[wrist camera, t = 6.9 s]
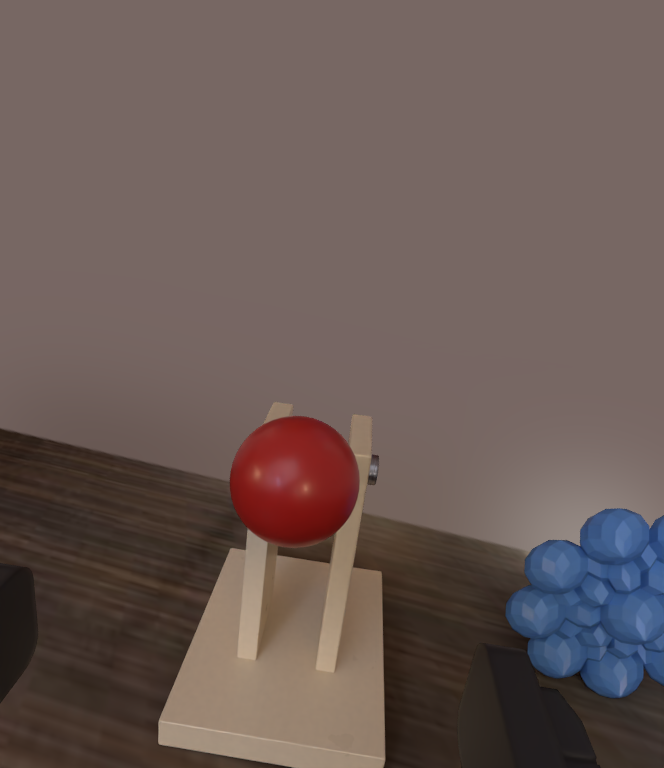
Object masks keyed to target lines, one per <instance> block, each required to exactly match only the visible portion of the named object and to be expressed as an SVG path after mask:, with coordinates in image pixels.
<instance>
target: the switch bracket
mask: <svg viewBox="0 0 664 768" xmlns="http://www.w3.org/2000/svg"><path fill="white" fill-rule="evenodd" d="M292 414H293V405H291V404H284V403H278V402H274V404H273V406H272V407H271V410H270V412H269V413H268V416H267V417H266V419H265V421H264V424H265V423H267V422H270V421H272V420H275V419H278V418H282V417H287V416H292ZM264 424H263V425H264ZM348 444H349V446H350V447H351V449H352V451H353V453H354V455H355V458H356V461H357V464H358V469H359V476H360V485H359V493H358V498H357V501H356V504H355V507H354V509H353V511H352V513H351V515H350V517H349V518H348V520H347V521H346V523H345V524H344V525H343V526H342V527H341V528H340V529H339V530H338V531H337V532H336V533H335V534H334V539H333V546H332V552H331V559H330V564H329V563H323V562H317V561H310V560H304V559H297V558H291V557H285V556H278V555H277V552H278V546H276V545H273V544H271V543H268V542H266V541H264V540H262V539H261V538H259V537H257V536H256V535H255V534H254V533H252V532H251V531H250V530H249V529H248V530H247V542H246V550H240V549H234V548H231V549H230V552H229V554H228V556H227V559H226V561H225V564H224V566H223V568H222V571H221V573H220V576H219V578H218V580H217V583H216V585H215V587H214V590H213V592H212V595H211V597H210V599H209V602H208V604H207V607H206V609H205V611H204V614H203V616H202V619H201V621H200V623H199V626H198V628H197V631H196V633H195V635H194V638H193V640H192V642H191V645H190V647H189V650H188V652H187V654H186V657H185V659H184V662H183V664H182V666H181V669H180V671H179V674H178V676H177V678H176V681H175V683H174V685H173V688H172V690H171V693H170V695H169V697H168V700H167V702H166V705H165V707H164V709H163V712H162V714H161V717H160V719H159V737H158V744H160V745H165V746H171V747H177V748H183V749H189V750H195V751H201V752H206V753H212V754H218V755H224V756H230V757H236V758H242V759H247V760H253V761H259V762H265V763H271V764H277V765H283V766H288V767H294V768H383V767H384V763H385V711H384V660H383V609H382V572H380V571H374V570H367V569H361V568H355V567H353V564H354V558H355V552H356V546H357V540H358V534H359V529H360V523H361V517H362V511H363V505H364V499H365V493H366V487H367V484H369V485H375V484H376V480H377V474H378V466H379V456H378V455H372V417H370V416H364V415H357V414H353V415H352V421H351V428H350V434H349V441H348Z"/></svg>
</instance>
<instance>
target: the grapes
mask: <svg viewBox="0 0 664 768" xmlns="http://www.w3.org/2000/svg"><path fill="white" fill-rule="evenodd" d="M580 545H581V547H580V546H578V545H576V544H574V543H572V542H570V541H567V540H548V541H546V542H544V543H543V544H541V545H539V546H537V547H535V548H533V549H532V550H531V552H530V553H529V555H528V556H527V557H526V559H525V570H524V572H525V575H526V577H527V578H528V580H529V582H530V583H531V585H528V586H526V587H524V588H522V589H520V590H518V591H516V592H515V593H513V594H512V596H511V597H510V599H509V600H508V602H507V603H506V614H505V616H506V618H507V620H508V622H509V623H510V625H511V627H512V629H513V630H515V631H516V632H518V633H519V634H521V635H522V636H524V637H528V638H531V639H530V640H529V642H528V652H527V653H528V655H529V657H530V660H531V662H532V664H533V666H534V668H536V669H537V670H538V671H540V672H541V673H543V674H544V675H546V676H549V677H553V678H565V677H571V676H572V675H574V674H576V673H577V672H579V671H580V675H581V677H582V679H583V680H584V682H585V684H586V685H587V687H588V688H590V689H591V690H593V691H594V692H596V693H597V694H599V695H601V696H605V697H609V698H622V697H626V696H628V695H629V694H631V693H632V692H634V691H635V690H636V689H637V688H638V686H639V684H640V683H641V681H642V680H643V667H644V669H645V670H646V672H647V673H648V675H649V676H650V678H651V679H653V680H655V681H656V682H658V683H660V684H661V685H663V686H664V516H662V517H660V518H658V519H656V520H655V522H654V523H653V525H652V526H651V528H650V529H649V525H648V524H647V523H646V522H645V520H644V519H643V518H642V516H641V515H639V514H637V513H635V512H632V511H630V510H627V509H605V510H603V511H601V512H599V513H597V514H596V515H594V516H592V517H590V518H588V519H587V521H586V522H585V524H584V525H583V527H582V528H581V531H580Z"/></svg>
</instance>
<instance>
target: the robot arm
mask: <svg viewBox="0 0 664 768" xmlns="http://www.w3.org/2000/svg"><path fill="white" fill-rule="evenodd" d="M37 639H38V623H37V612H36V601H35V590H34V579H33V574H32V571H31V570H30V569H29V568H27V567H21V566H15V565H9V564H2V563H0V703H1V702H2V700H3V699H4V698H5V696H6V695H7V694H8V692H9V691H10V690H11V688H12V687H13V686H14V684H15V683H16V682H17V680H18V679H19V678H20V676H21V675H22V674H23V672H24V671H25V669H26V668H27V666H28V664H29V662H30V660H31V658H32V656H33V654H34V651H35V648H36V644H37ZM458 745H459V752H460V759H461V765H462V768H600V765H597V763H596V755H595V753H594V750H593V748H592V745H591V743H590V740H589V738H588V735H587V733H586V730H585V728H584V725H583V723H582V721H581V720H580V718H579V717H578V716H577V714H576V713H575V712H574V711H573V709H572V708H571V707H570V705H569V704H568V703H567V701H566V700H565V699H564V698H563V696H562V695H561V694H560V692H559V691H558V690H556V689H550V688H544V687H540V686H539V683H538V680H537V677H536V674H535V671H534V669H533V666H532V663H531V660H530V657H529V655H528V653H527V652H526V651H525V650H523V649H517V648H511V647H505V646H499V645H492V644H486V643H479V645H478V646H477V648H476V651H475V654H474V658H473V661H472V664H471V668H470V671H469V675H468V678H467V681H466V685H465V688H464V692H463V695H462V698H461V702H460V706H459V712H458Z"/></svg>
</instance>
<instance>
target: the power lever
mask: <svg viewBox="0 0 664 768" xmlns="http://www.w3.org/2000/svg"><path fill="white" fill-rule="evenodd" d="M359 485H360V476H359V469H358V464H357V461H356V458H355V455H354V453H353V451H352V449H351V447H350V446H349V444H348V443H347V441H346V440H345V439H344V438H343V437H342V435H341V434H339V433H338V432H337V431H336V430H335V429H333V428H332V427H331V426H329V425H327V424H326V423H324V422H322V421H319V420H316V419H314V418H309V417H304V416H287V417H282V418H278V419H275V420H272V421H270V422H267V423H265V424H264V425H262V426H260V427H259V428H257V429H256V430H255V431H254V432H253V433H252V434H250V435H249V436H248V438H247V439H246V440H245V441H244V442H243V444H242V445H241V446H240V448H239V450H238V452H237V454H236V456H235V458H234V461H233V464H232V469H231V474H230V492H231V498H232V502H233V505H234V508H235V510H236V512H237V514H238V516H239V517H240V519H241V520H242V522H243V523H244V524H245V526H246V527H247V528H248V529H249V530H250V531H251V532H252V533H254V534H255V535H256V536H257V537H259V538H261V539H262V540H264V541H266V542H268V543H271V544H273V545H276V546H280V547H286V548H301V547H308V546H311V545H315V544H317V543H320V542H322V541H324V540H326V539H327V538H329V537H331V536H332V535H333V534H335V533H336V532H337V531H338V530H339V529H340V528H341V527H342V526H343V525H344V524H345V523H346V521H347V520H348V518H349V517H350V515H351V513H352V511H353V509H354V507H355V504H356V501H357V498H358V493H359Z"/></svg>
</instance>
